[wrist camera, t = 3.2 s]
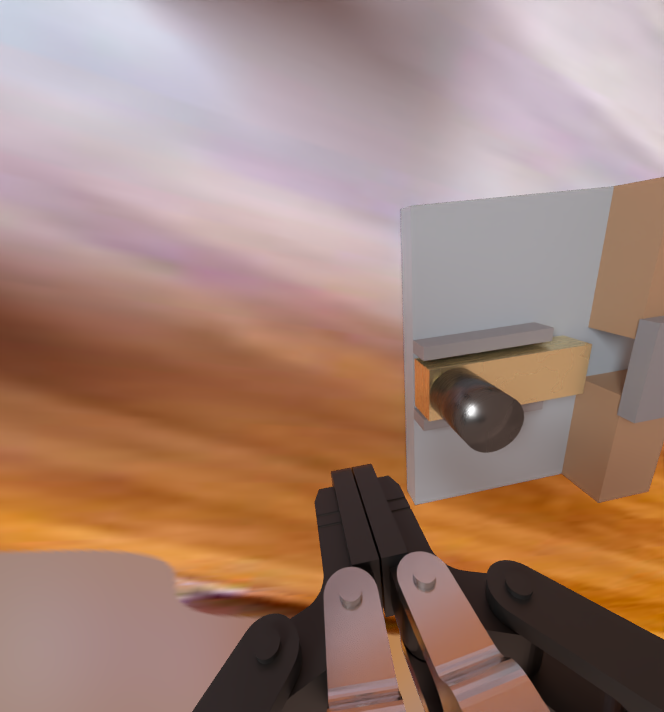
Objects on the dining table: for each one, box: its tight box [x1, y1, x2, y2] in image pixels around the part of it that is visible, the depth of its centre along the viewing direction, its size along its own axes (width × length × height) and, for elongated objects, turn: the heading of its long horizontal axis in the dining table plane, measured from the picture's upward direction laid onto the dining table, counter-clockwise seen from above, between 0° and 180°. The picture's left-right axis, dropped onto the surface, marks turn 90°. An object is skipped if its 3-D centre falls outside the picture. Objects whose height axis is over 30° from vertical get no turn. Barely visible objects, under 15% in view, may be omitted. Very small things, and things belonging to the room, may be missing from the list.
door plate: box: [400, 177, 664, 505], centre depth 19 cm, size 16×20×6 cm
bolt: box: [414, 335, 592, 453], centre depth 17 cm, size 10×3×6 cm, turn 96°
